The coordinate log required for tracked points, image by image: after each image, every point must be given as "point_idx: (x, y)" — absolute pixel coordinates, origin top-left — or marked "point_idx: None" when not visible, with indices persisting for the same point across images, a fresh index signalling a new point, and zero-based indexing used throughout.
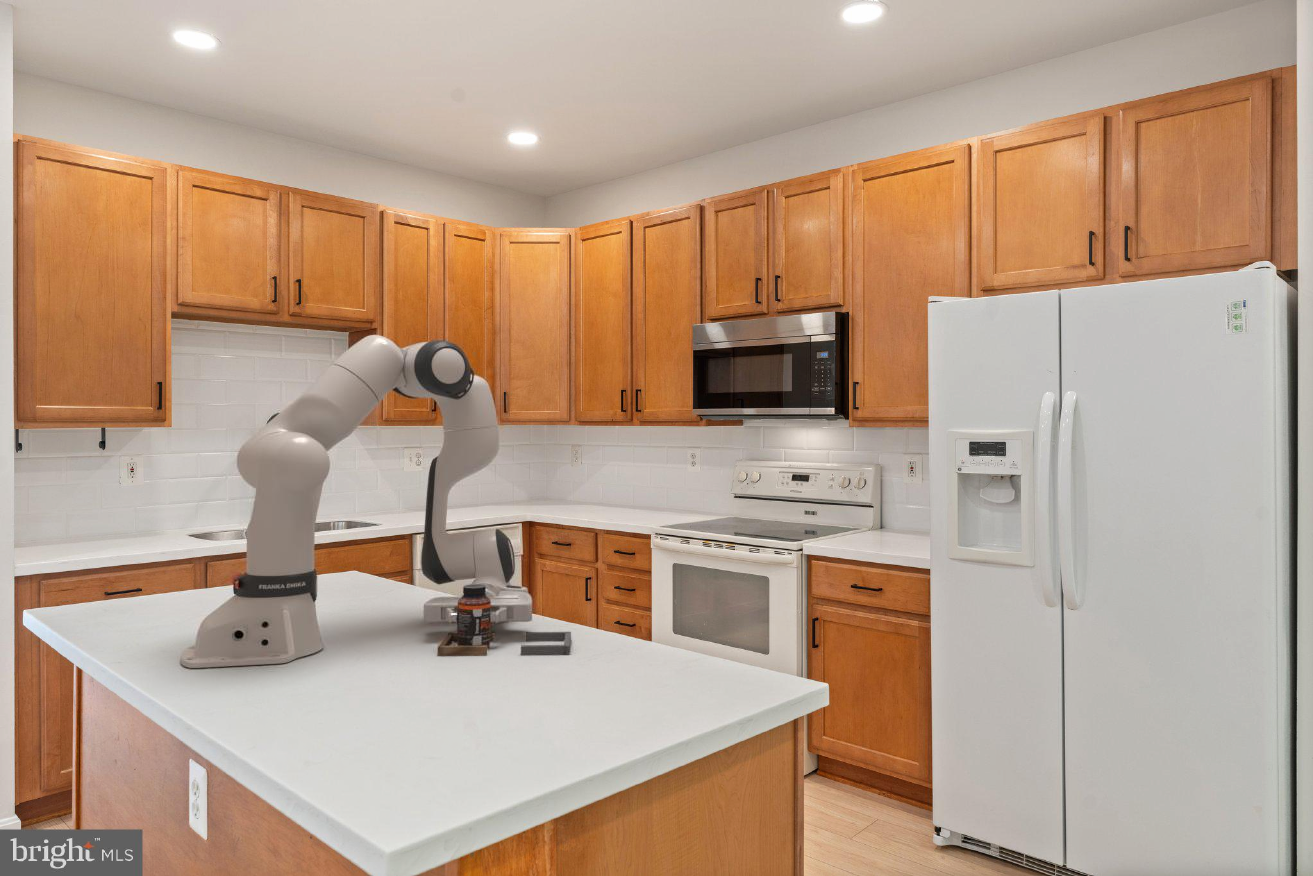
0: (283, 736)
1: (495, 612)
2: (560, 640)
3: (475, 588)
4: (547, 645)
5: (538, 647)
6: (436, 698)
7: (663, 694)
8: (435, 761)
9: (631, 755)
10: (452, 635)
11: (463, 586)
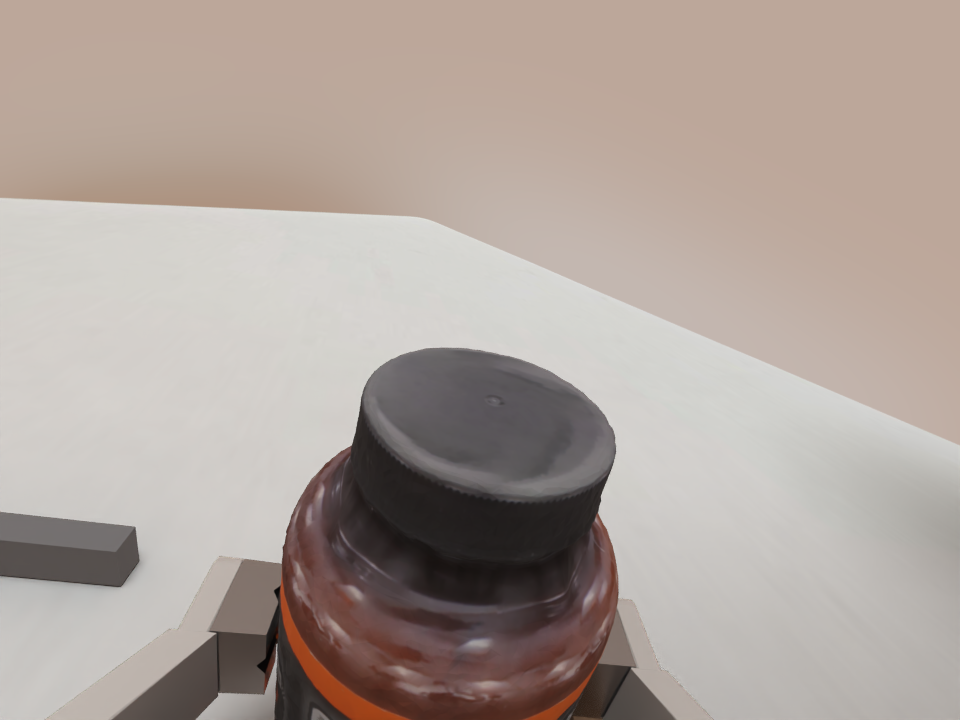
0: (594, 305)
1: (236, 585)
2: None
3: (460, 353)
4: None
5: (29, 518)
6: (447, 331)
7: None
8: (413, 248)
9: (210, 209)
10: None
11: (605, 418)
